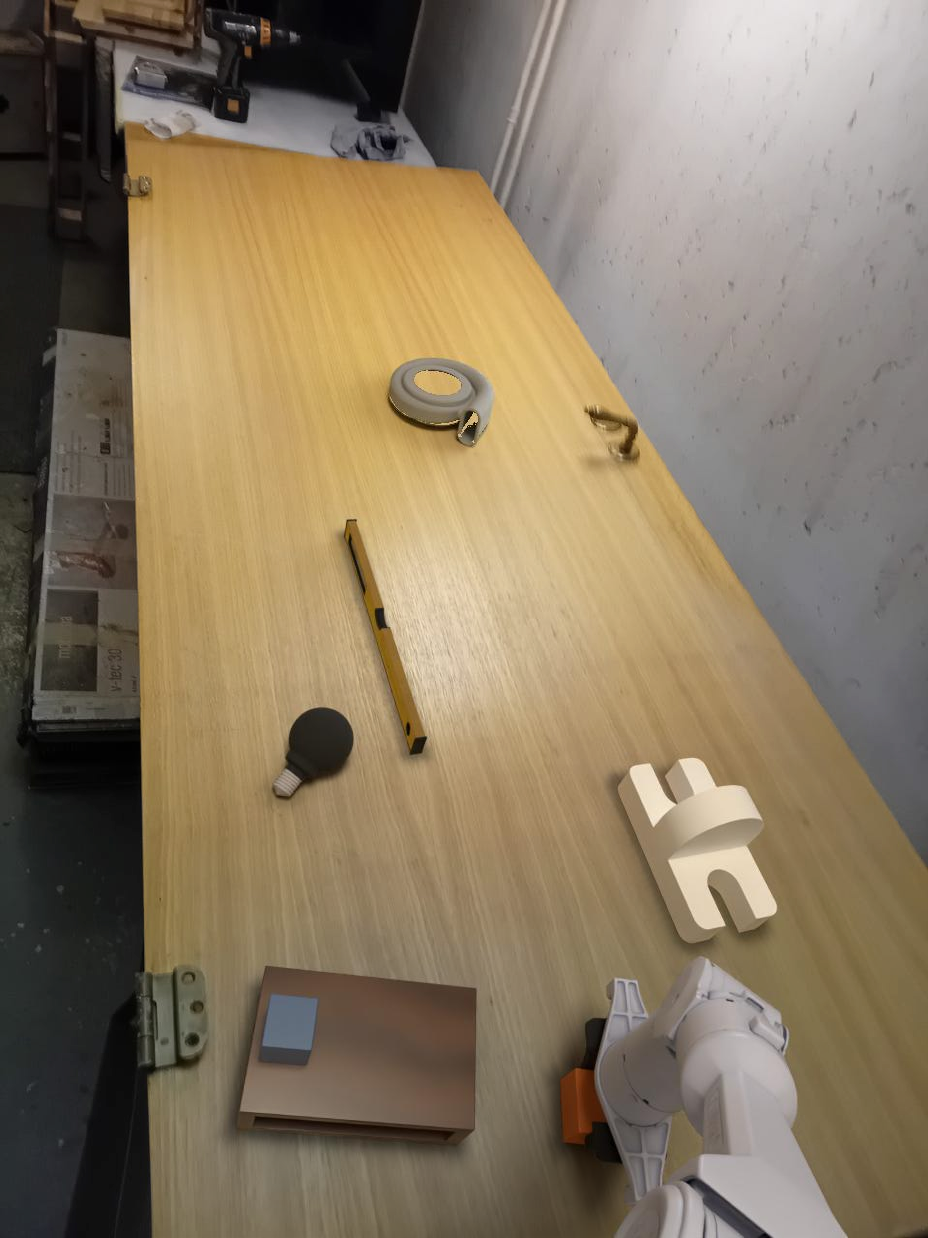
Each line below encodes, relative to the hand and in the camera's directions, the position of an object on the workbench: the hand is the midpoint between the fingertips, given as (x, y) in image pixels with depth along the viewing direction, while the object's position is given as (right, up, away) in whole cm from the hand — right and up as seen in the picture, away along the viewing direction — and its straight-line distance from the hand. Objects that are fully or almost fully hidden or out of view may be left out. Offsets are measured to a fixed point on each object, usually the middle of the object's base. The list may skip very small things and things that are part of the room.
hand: (593, 1109), depth 67 cm
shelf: (-19, +4, 0) cm, 20 cm away
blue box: (-24, +9, -6) cm, 26 cm away
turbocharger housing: (-14, +73, +64) cm, 99 cm away
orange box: (0, -1, +1) cm, 2 cm away
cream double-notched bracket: (+13, +15, +20) cm, 28 cm away
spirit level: (-21, +38, +30) cm, 53 cm away
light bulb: (-26, +25, +17) cm, 40 cm away
